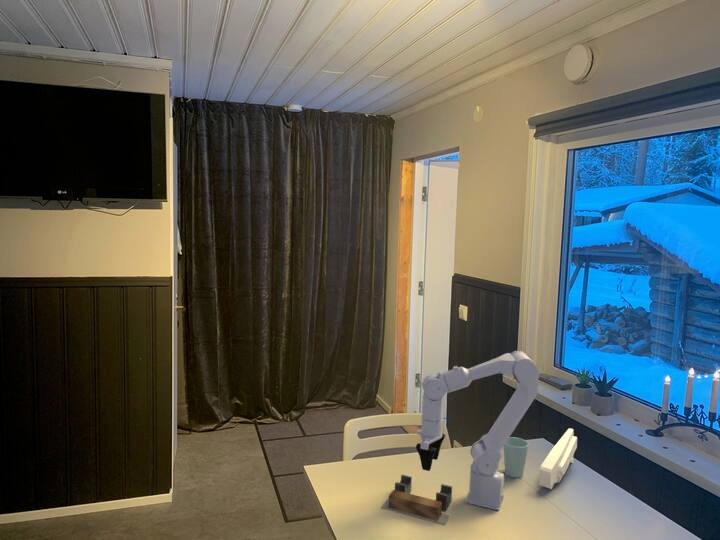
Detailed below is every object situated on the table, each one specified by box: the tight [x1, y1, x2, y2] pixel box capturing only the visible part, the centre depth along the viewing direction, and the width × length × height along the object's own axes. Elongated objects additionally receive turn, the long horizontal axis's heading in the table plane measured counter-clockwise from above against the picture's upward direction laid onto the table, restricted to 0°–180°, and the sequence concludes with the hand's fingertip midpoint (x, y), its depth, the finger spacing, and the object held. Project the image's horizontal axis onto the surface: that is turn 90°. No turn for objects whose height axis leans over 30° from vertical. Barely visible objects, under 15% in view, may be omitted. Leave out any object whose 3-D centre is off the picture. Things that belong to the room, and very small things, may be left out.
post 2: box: [435, 483, 453, 513], centre depth 150 cm, size 3×6×4 cm, turn 156°
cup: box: [503, 436, 530, 478], centre depth 171 cm, size 8×8×10 cm
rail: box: [388, 489, 443, 521], centre depth 146 cm, size 14×4×4 cm, turn 66°
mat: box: [380, 498, 451, 526], centre depth 147 cm, size 18×5×1 cm, turn 66°
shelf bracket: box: [539, 428, 578, 490], centre depth 170 cm, size 6×25×13 cm, turn 142°
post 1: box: [394, 474, 413, 494], centre depth 155 cm, size 3×6×4 cm, turn 156°
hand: (430, 464), depth 154 cm, fingers open, 7 cm apart
